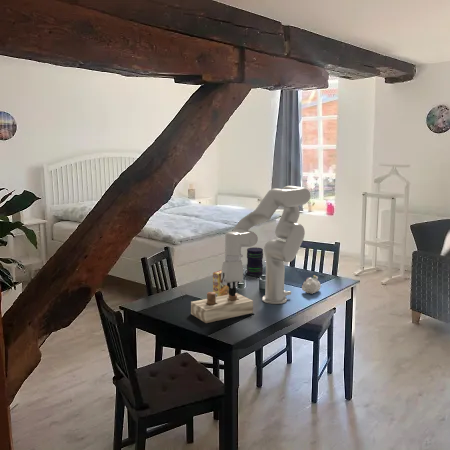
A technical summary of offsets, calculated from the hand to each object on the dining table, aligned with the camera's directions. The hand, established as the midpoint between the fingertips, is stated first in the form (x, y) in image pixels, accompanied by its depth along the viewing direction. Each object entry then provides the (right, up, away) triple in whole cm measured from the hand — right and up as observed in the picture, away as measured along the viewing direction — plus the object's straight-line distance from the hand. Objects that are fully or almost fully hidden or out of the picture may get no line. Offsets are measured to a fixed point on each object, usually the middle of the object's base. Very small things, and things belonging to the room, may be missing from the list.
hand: (232, 295), depth 247 cm
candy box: (-5, -5, +18) cm, 19 cm away
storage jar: (+15, +4, +69) cm, 71 cm away
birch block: (-5, -8, -1) cm, 10 cm away
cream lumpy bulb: (+43, -3, +31) cm, 53 cm away
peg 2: (0, -6, +1) cm, 6 cm away
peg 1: (-10, -4, -6) cm, 12 cm away
